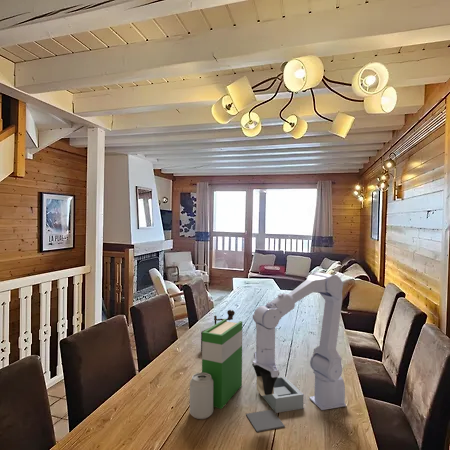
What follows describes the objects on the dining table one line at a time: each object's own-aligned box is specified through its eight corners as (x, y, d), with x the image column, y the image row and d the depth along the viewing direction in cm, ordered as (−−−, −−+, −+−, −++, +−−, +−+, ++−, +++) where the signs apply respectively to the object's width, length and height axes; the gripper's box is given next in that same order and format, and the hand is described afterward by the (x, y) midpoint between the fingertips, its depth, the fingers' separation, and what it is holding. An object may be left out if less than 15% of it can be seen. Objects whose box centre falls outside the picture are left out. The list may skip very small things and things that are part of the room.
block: (268, 387, 104) (268, 375, 104) (273, 394, 100) (273, 380, 100) (256, 389, 103) (256, 376, 103) (261, 395, 99) (261, 382, 99)
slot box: (284, 388, 122) (284, 375, 122) (303, 408, 109) (303, 394, 109) (258, 391, 119) (259, 378, 119) (275, 412, 106) (275, 398, 106)
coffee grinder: (220, 356, 151) (220, 316, 151) (200, 351, 157) (200, 313, 157) (236, 345, 164) (236, 309, 164) (217, 341, 170) (217, 306, 170)
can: (213, 407, 109) (213, 370, 109) (213, 420, 101) (213, 381, 101) (190, 407, 109) (190, 370, 109) (188, 420, 101) (189, 381, 101)
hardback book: (223, 381, 127) (224, 318, 127) (241, 385, 124) (242, 321, 124) (201, 403, 111) (202, 332, 111) (221, 409, 108) (222, 335, 108)
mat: (272, 410, 107) (272, 409, 107) (284, 427, 98) (284, 425, 98) (246, 414, 104) (246, 413, 104) (256, 432, 96) (256, 430, 96)
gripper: (245, 339, 107) (244, 381, 107) (262, 356, 93) (262, 404, 93) (265, 337, 109) (264, 378, 109) (285, 354, 95) (284, 401, 95)
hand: (265, 390), depth 101 cm, fingers closed on block, 4 cm apart
